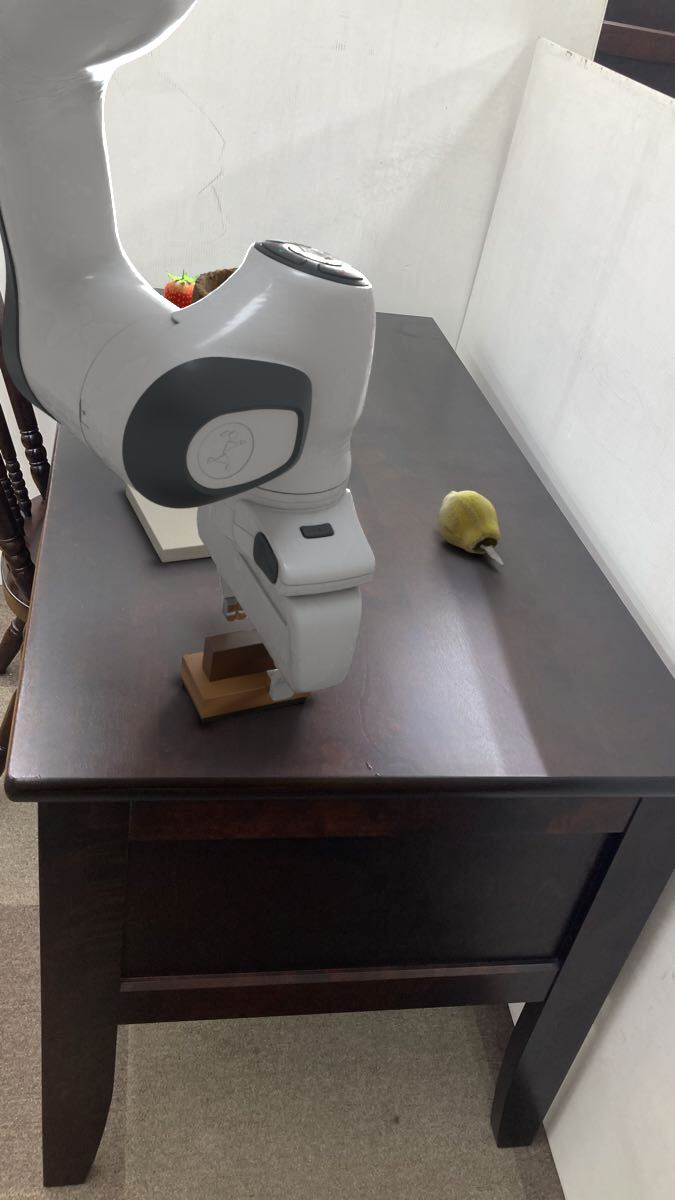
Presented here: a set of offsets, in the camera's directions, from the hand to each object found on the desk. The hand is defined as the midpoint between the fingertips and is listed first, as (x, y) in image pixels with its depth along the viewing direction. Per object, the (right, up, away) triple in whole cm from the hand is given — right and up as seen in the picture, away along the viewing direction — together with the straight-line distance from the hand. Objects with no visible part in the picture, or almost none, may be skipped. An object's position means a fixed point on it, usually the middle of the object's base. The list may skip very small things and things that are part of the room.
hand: (254, 652), depth 68 cm
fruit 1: (-16, +43, +60) cm, 76 cm away
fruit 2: (+20, +9, +26) cm, 34 cm away
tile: (-4, +12, +23) cm, 26 cm away
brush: (-1, -3, +2) cm, 4 cm away
